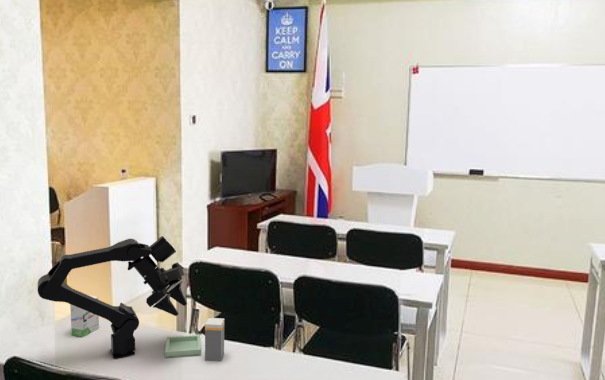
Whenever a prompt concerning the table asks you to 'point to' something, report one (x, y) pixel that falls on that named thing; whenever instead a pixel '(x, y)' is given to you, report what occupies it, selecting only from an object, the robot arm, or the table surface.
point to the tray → (183, 346)
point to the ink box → (83, 321)
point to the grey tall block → (214, 339)
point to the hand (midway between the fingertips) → (181, 309)
